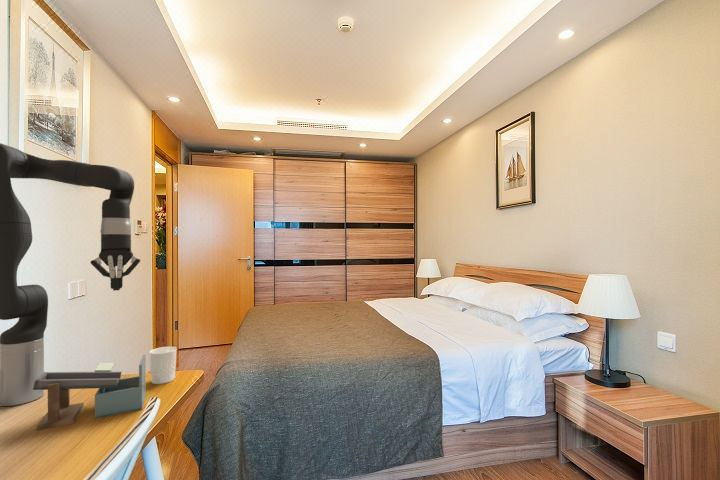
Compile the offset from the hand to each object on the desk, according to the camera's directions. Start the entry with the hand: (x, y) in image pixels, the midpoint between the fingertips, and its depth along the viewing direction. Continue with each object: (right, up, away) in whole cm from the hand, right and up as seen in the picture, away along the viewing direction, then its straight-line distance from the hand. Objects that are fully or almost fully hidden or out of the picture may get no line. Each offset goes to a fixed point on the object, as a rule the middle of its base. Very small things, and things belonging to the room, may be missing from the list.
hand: (116, 290), depth 105 cm
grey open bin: (+9, -31, -10) cm, 33 cm away
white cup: (+9, -31, +8) cm, 34 cm away
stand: (-3, -31, -16) cm, 35 cm away
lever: (-1, -23, -11) cm, 25 cm away
